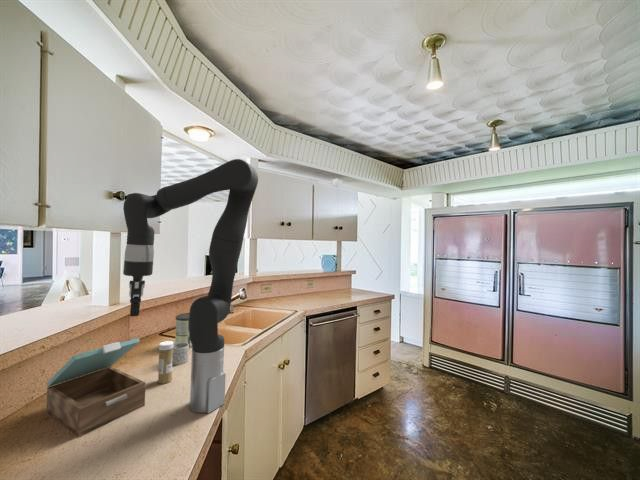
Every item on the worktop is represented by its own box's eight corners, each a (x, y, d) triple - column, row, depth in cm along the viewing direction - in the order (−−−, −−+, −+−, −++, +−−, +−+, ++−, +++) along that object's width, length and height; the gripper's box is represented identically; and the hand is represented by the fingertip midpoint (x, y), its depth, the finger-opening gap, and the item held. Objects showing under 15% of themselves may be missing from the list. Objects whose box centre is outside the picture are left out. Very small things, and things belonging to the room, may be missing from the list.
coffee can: (180, 341, 138) (181, 312, 138) (201, 341, 139) (202, 312, 139) (170, 348, 128) (171, 318, 128) (193, 349, 128) (194, 318, 128)
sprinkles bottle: (172, 382, 98) (174, 343, 98) (157, 385, 96) (159, 346, 96) (171, 376, 102) (172, 339, 102) (157, 379, 100) (158, 341, 100)
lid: (142, 341, 85) (140, 335, 86) (77, 360, 71) (76, 352, 72) (111, 368, 94) (110, 362, 94) (47, 389, 79) (46, 382, 80)
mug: (179, 357, 119) (180, 341, 119) (191, 360, 117) (192, 344, 117) (159, 366, 110) (159, 349, 110) (171, 369, 108) (172, 352, 108)
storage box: (146, 406, 84) (147, 383, 84) (80, 438, 70) (81, 410, 70) (110, 387, 94) (111, 366, 94) (46, 411, 80) (47, 387, 80)
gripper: (153, 261, 82) (149, 317, 81) (152, 258, 94) (149, 306, 93) (122, 261, 78) (117, 319, 77) (125, 257, 90) (121, 307, 90)
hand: (134, 312), depth 85 cm, fingers open, 8 cm apart
